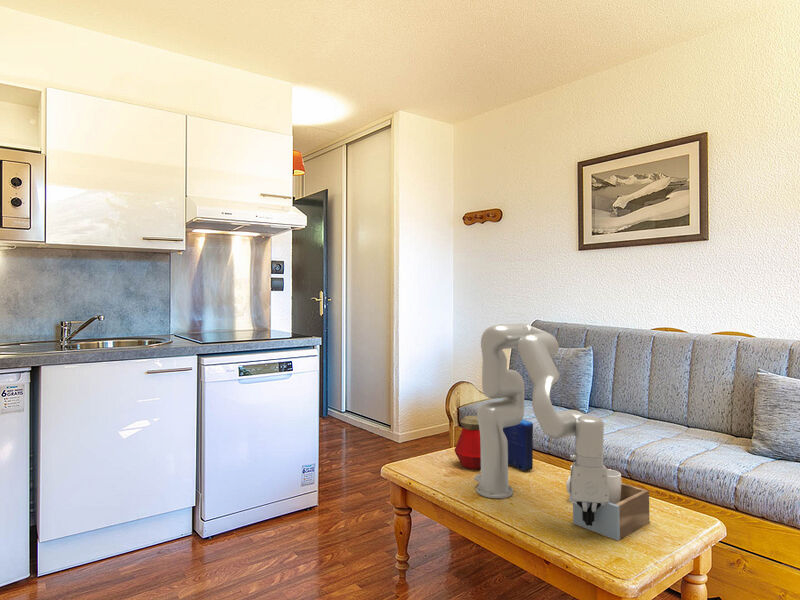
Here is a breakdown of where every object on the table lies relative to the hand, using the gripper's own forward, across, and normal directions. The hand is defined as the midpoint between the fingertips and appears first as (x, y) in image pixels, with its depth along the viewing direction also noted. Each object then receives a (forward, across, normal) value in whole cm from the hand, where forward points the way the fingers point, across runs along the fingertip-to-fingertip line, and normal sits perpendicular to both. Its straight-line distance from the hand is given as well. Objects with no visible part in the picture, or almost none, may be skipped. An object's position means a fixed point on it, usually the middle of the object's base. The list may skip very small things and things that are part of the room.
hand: (588, 523), depth 140 cm
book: (+5, -15, +56) cm, 58 cm away
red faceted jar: (+5, -33, +55) cm, 64 cm away
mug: (+4, +3, +26) cm, 27 cm away
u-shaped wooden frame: (+3, +9, +9) cm, 13 cm away
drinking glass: (+3, +8, +9) cm, 12 cm away
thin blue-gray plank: (+3, +3, +2) cm, 5 cm away
